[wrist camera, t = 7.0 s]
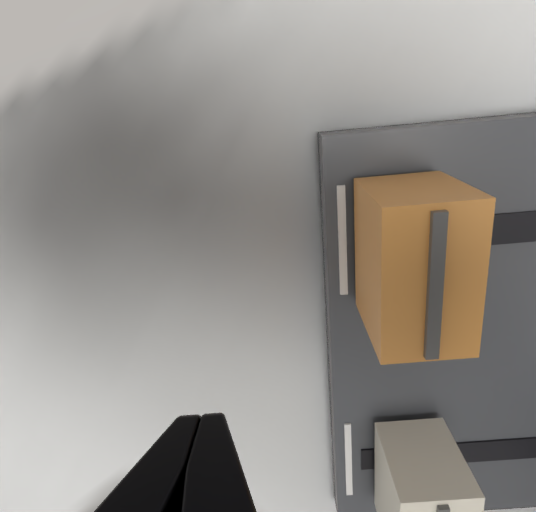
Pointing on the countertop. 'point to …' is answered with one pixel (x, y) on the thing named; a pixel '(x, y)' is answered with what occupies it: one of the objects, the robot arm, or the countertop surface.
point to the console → (494, 320)
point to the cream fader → (422, 469)
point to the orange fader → (422, 265)
